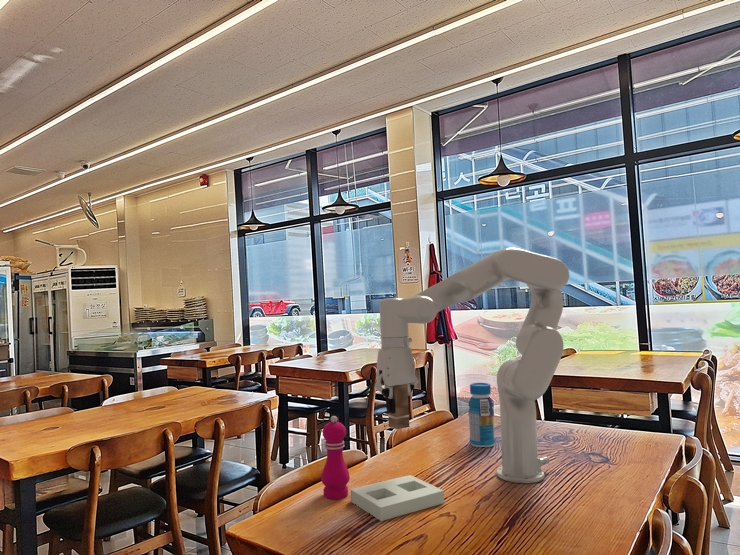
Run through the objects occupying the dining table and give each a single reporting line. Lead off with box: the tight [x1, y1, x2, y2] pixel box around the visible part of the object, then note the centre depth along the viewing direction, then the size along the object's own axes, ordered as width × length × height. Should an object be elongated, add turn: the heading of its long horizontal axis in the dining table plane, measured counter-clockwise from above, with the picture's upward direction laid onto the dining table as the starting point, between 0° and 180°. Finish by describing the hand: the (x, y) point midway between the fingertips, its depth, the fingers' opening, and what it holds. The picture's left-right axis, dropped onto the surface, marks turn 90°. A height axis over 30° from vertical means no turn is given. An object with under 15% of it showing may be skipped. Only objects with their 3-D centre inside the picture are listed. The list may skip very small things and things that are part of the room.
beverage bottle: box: [467, 382, 496, 448], centre depth 179 cm, size 8×8×20 cm
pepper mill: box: [320, 415, 350, 500], centre depth 137 cm, size 7×7×20 cm
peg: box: [387, 384, 410, 430], centre depth 145 cm, size 4×4×12 cm
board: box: [349, 474, 445, 522], centre depth 131 cm, size 18×14×3 cm
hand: (398, 410), depth 145 cm, fingers closed on peg, 4 cm apart
